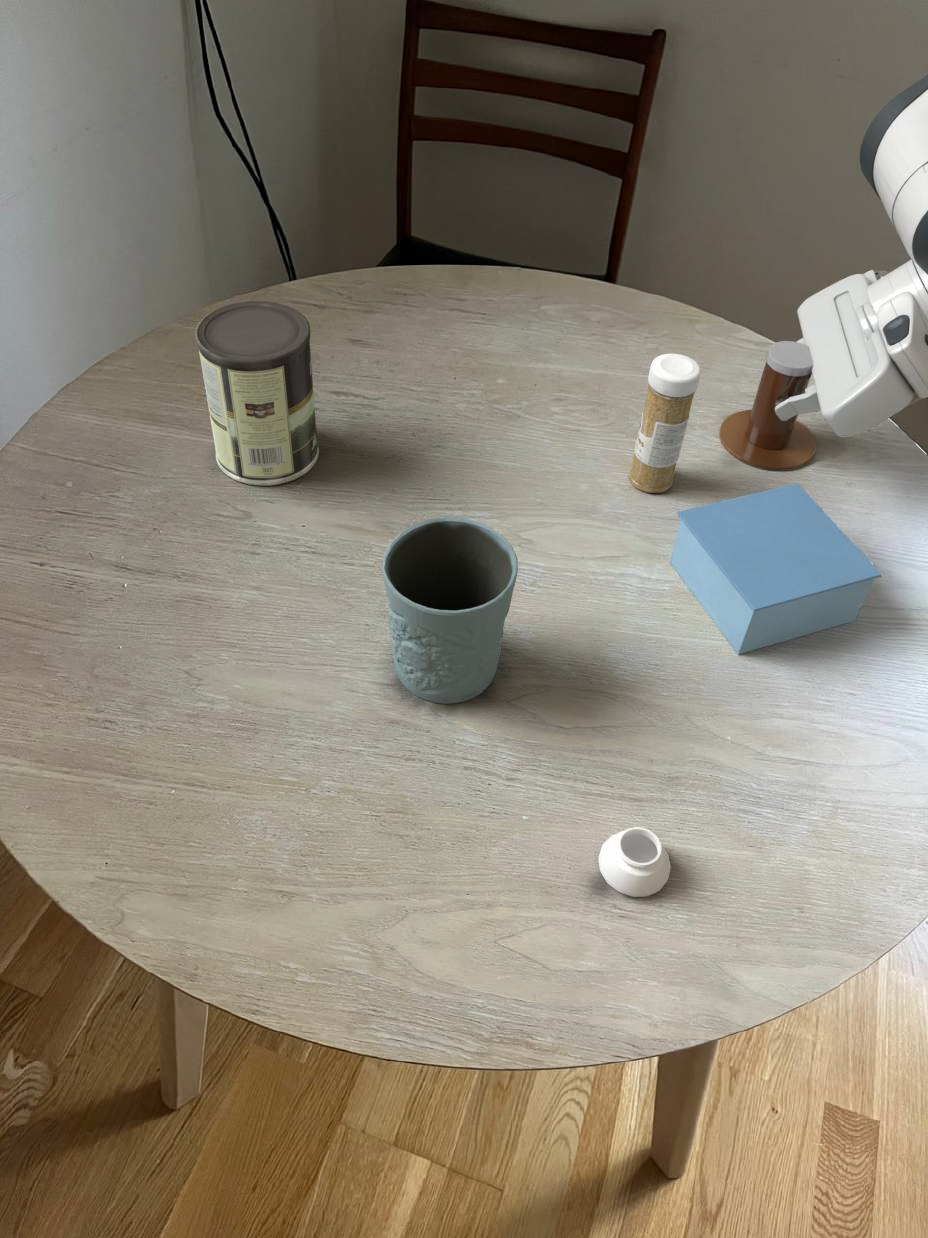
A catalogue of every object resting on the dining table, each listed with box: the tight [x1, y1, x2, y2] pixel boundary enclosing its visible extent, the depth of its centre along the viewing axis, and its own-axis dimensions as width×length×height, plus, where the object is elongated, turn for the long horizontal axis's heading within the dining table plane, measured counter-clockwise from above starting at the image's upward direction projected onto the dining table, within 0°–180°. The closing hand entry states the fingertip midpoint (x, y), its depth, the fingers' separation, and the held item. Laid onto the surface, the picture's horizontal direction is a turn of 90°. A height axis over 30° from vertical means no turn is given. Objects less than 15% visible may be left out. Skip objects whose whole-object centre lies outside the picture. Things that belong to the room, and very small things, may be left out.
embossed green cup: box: [382, 516, 519, 705], centre depth 82 cm, size 10×10×12 cm
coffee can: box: [194, 300, 320, 487], centre depth 99 cm, size 10×10×14 cm
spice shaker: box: [745, 340, 813, 450], centre depth 106 cm, size 5×5×10 cm
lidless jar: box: [598, 826, 672, 898], centre depth 73 cm, size 5×3×5 cm
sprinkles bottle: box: [628, 353, 702, 494], centre depth 99 cm, size 5×5×13 cm
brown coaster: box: [718, 409, 817, 472], centre depth 109 cm, size 10×10×1 cm
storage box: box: [669, 482, 883, 655], centre depth 92 cm, size 13×13×6 cm
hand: (773, 394), depth 105 cm, fingers closed on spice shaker, 5 cm apart
